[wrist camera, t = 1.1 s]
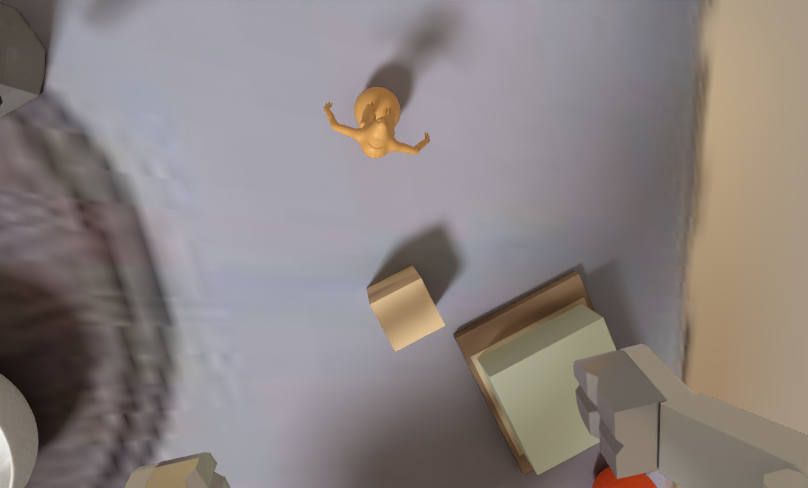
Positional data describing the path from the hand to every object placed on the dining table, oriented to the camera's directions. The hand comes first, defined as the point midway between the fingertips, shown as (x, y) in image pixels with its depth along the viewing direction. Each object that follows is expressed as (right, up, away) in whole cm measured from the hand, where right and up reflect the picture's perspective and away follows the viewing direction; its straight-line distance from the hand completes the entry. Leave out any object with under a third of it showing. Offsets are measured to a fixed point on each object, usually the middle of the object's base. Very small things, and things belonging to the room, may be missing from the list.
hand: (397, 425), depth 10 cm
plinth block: (+15, -10, +38) cm, 42 cm away
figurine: (-3, +15, +32) cm, 35 cm away
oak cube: (0, -1, +35) cm, 35 cm away
